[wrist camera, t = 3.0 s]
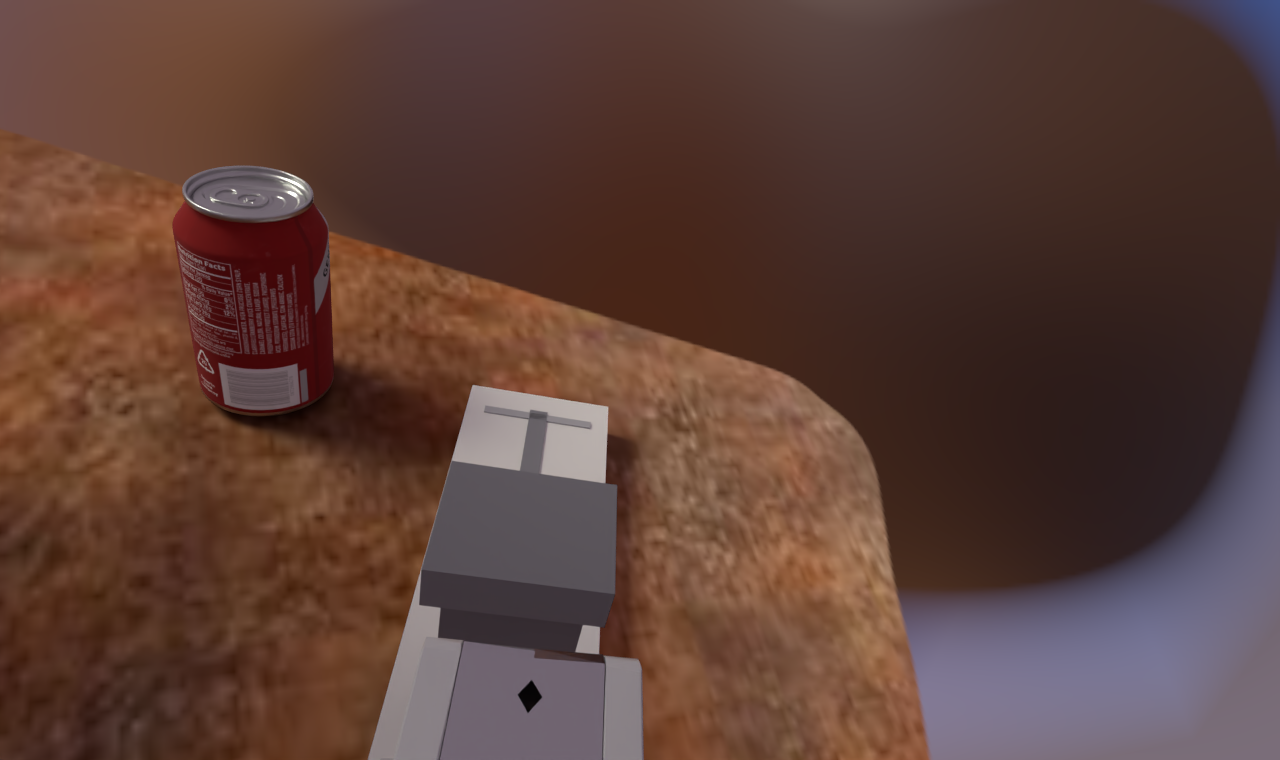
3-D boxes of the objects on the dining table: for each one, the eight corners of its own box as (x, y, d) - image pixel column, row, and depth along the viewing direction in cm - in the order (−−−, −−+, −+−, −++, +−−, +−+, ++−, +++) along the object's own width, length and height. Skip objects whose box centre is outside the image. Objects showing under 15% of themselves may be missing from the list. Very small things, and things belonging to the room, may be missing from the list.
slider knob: (554, 786, 26) (615, 594, 19) (408, 772, 25) (421, 569, 19) (562, 680, 29) (617, 484, 23) (433, 666, 28) (451, 460, 22)
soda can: (314, 433, 40) (301, 234, 33) (179, 416, 39) (136, 206, 32) (347, 360, 45) (343, 175, 38) (230, 343, 44) (203, 150, 37)
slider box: (581, 881, 26) (592, 857, 25) (346, 865, 25) (345, 838, 24) (602, 431, 45) (608, 405, 44) (470, 411, 44) (472, 383, 43)
